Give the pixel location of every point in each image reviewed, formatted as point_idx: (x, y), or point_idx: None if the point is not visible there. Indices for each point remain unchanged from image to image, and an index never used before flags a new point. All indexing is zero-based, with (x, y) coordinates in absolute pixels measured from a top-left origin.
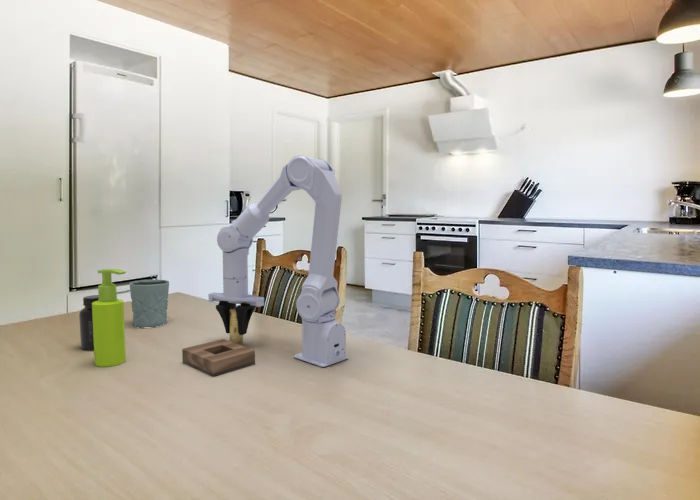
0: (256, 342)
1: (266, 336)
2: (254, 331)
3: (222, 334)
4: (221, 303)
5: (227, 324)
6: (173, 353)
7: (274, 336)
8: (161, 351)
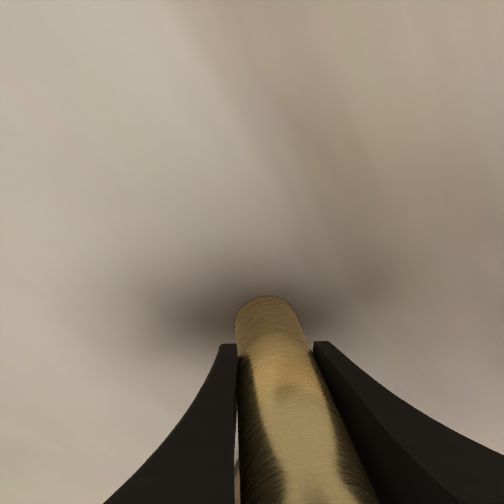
0: (333, 255)
1: (336, 134)
2: (206, 51)
3: (66, 200)
4: None
5: (234, 437)
6: (104, 482)
7: (381, 115)
8: (43, 486)
